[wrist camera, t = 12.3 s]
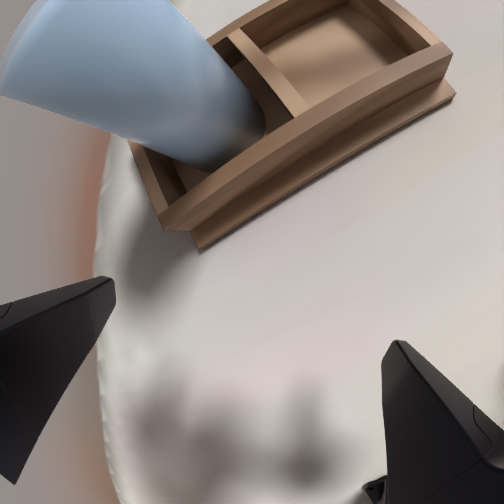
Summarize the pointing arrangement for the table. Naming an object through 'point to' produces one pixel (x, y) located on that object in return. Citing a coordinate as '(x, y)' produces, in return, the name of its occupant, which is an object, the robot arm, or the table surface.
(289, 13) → the wooden divided tray
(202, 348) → the table surface
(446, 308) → the table surface
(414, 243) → the table surface
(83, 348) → the robot arm
